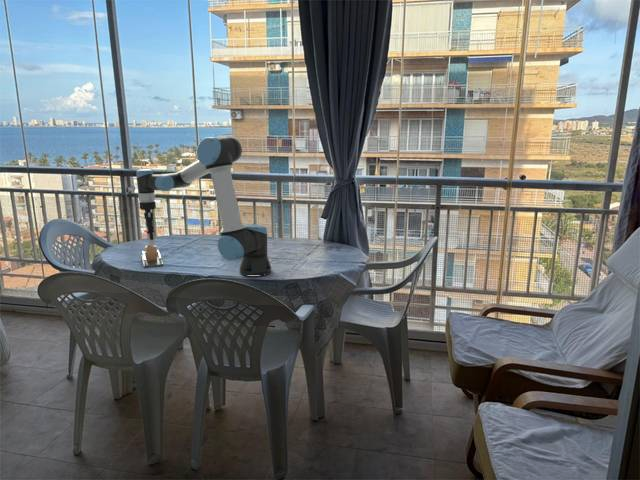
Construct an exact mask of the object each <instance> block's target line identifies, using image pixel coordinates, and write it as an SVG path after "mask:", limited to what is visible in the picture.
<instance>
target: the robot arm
mask: <svg viewBox="0 0 640 480" xmlns="http://www.w3.org/2000/svg"><path fill="white" fill-rule="evenodd" d="M242 153H243V147H242V145H241V143H240V141H239V140H238V139H236V138H235V137H233V136H209V137H207V136H206V137H204V138H202V139H201V140H200V141H199V143H198V145H197V148H196V157H197V160H196V161H194V162H193V163H191V164H190V165H187V166H186V167H184V168H183V169H181V170H179V171H177V172H172V173H161V174H154V173H153V170H152V169H146V168H145V169H138V170H136V185H137V195H138V197H137V198H138V201H139V203H138V206H139V209H140V210H141V211H144V212H143V216H144V220H145V227H146V229H145V230H146V240H147V241H148V245H149V246H155V245H156V240H155V231H154V230H155V228H154V213H153V211H152V210H156V208H157V203H156V196H157V193H155V191H161V192H170V191H171V190H172V189H180V188H181V189H182V188H186V187H189V186H191V185H192V183H193V182H194V181H196V180H199V179H200V178H202V177H204V176H206V175H208V174H210V176H211V182H212V186H213V190H214V195H215V199H216V204H217V209H218V212H219V217H220V222H221V226H222V228H221V230H220V231H219V234H220V238H219V239H218V241H217V250H218V252H219V254H220V255H221V256H222V257H223V258H224V259H226V260H228V261H236V260H241V263H240V265H239V274H240V273H241V274H240V275H242V274H244V275H264V274H268V273H270V272H271V273H272V266H271V262H270V260H269V257H268V228H267V227H266V226H265V225H260V224H243V222H242V218H241V213H240V209H239V204H238V200H237V196H236V191H235V185H234V181H233V176H232V172H231V170H232V168H233V167H234V165H233V163H235V162H237V161H239V159H240V158H241V156H242ZM271 273H270V274H271ZM244 275H243V276H244ZM268 275H269V274H268Z"/></svg>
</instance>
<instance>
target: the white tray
mask: <svg viewBox="0 0 640 480" xmlns="http://www.w3.org/2000/svg"><path fill="white" fill-rule="evenodd" d="M156 250H157V260H150V261H147V260H146V251H144V250H142V254H141V259H142V266H143V268H145V269H147V268H153V267H155V268H156V267H163V266H164V262H163V260H162V255H161V253H160V250H159V249H156Z"/></svg>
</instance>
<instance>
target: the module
mask: <svg viewBox="0 0 640 480" xmlns="http://www.w3.org/2000/svg"><path fill="white" fill-rule="evenodd" d="M144 248H145V252H146V260H147V261H150V260H157V250H158V249H157V245H156V244H155V246H149V244H146V245H145V247H144Z"/></svg>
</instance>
